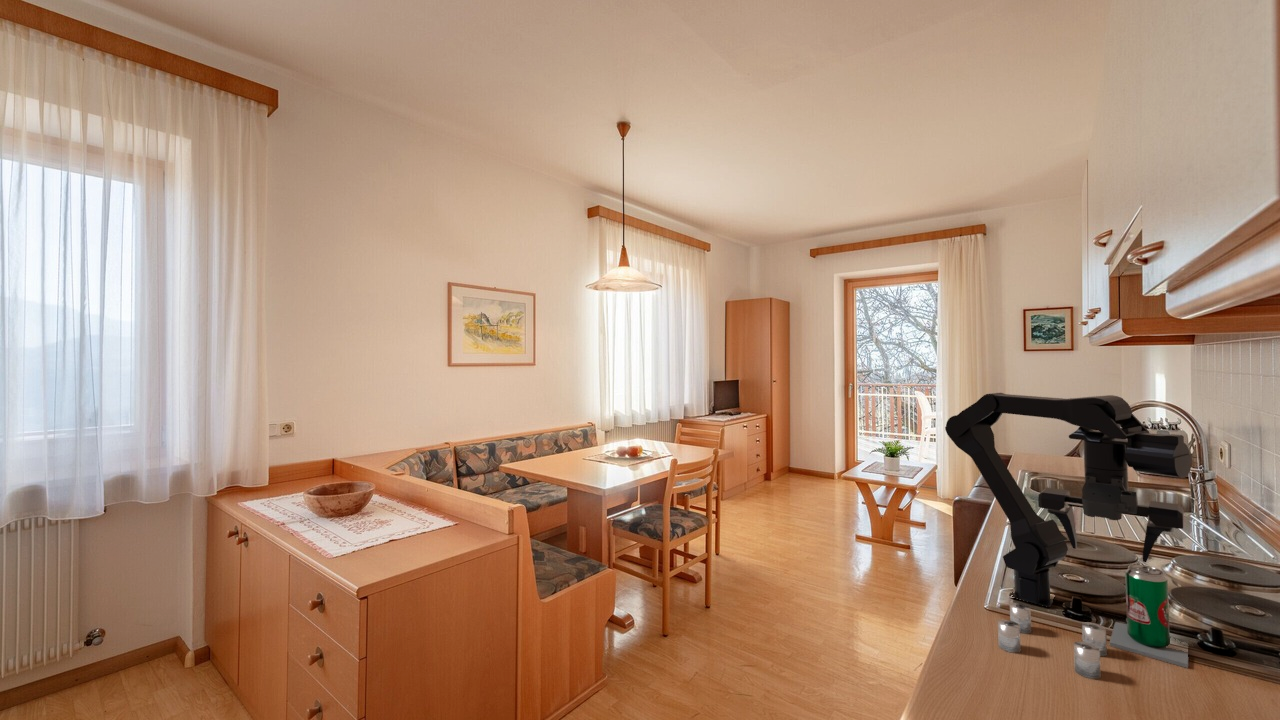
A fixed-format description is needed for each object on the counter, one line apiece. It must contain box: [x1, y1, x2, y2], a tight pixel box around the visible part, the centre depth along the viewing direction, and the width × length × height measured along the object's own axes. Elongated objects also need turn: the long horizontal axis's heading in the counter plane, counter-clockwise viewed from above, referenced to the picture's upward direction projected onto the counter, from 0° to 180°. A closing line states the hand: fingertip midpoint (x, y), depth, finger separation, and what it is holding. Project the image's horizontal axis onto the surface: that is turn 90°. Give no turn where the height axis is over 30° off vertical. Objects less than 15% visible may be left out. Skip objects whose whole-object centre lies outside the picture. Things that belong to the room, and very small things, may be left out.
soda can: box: [1124, 564, 1171, 648], centre depth 86 cm, size 5×5×12 cm
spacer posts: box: [997, 602, 1108, 680], centre depth 86 cm, size 11×13×4 cm
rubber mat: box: [1108, 621, 1190, 669], centre depth 86 cm, size 9×9×1 cm
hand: (1108, 554), depth 91 cm, fingers open, 9 cm apart
